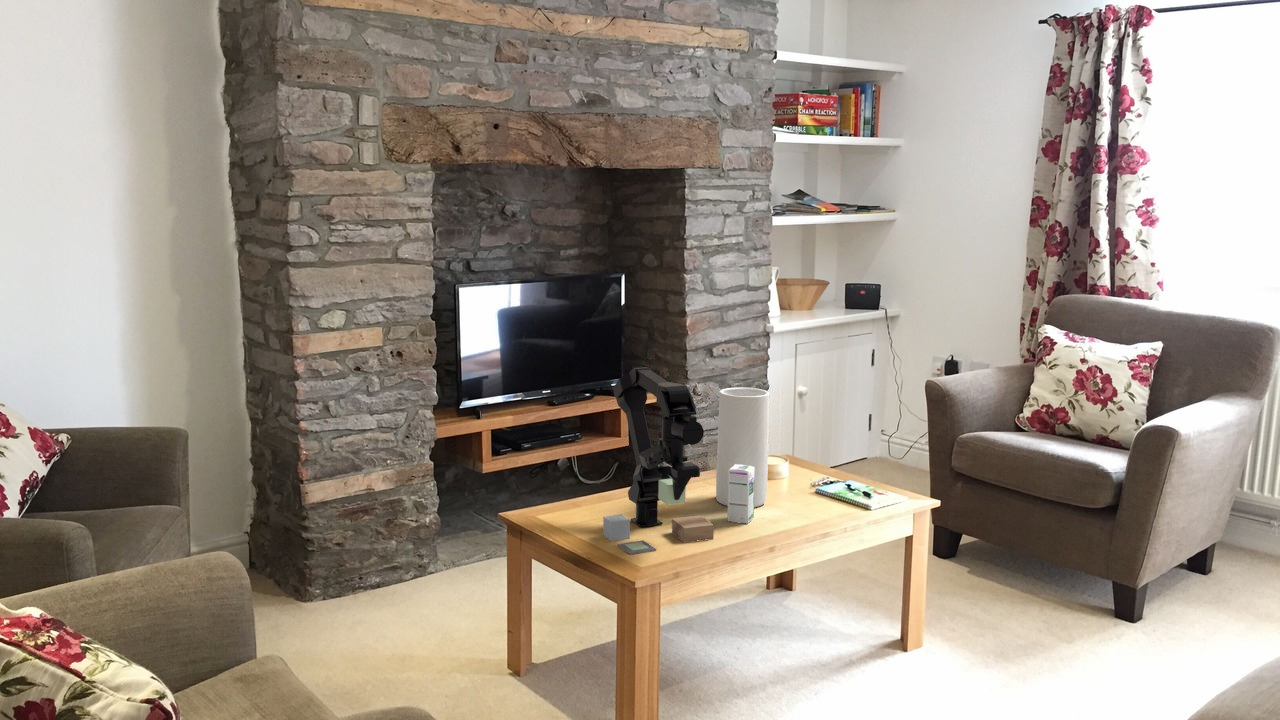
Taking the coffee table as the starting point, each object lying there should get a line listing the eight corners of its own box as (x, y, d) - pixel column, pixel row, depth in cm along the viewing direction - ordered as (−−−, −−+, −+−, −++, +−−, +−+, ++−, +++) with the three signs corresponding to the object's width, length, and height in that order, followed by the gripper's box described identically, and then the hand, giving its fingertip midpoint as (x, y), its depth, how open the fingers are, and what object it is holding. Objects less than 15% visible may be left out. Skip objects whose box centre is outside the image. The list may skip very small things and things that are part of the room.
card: (617, 545, 253) (617, 543, 253) (643, 541, 256) (643, 539, 256) (630, 554, 247) (630, 552, 247) (656, 550, 250) (656, 548, 250)
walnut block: (671, 533, 264) (672, 518, 263) (700, 530, 266) (700, 515, 266) (684, 543, 256) (684, 528, 256) (713, 540, 259) (713, 525, 258)
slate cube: (603, 535, 261) (603, 516, 260) (621, 533, 263) (621, 514, 262) (611, 541, 256) (611, 522, 255) (629, 539, 258) (629, 519, 258)
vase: (739, 491, 301) (742, 385, 296) (777, 502, 290) (781, 392, 285) (705, 500, 291) (707, 391, 286) (743, 512, 281) (746, 399, 276)
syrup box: (748, 524, 271) (749, 471, 269) (726, 521, 273) (728, 468, 271) (753, 518, 276) (755, 465, 274) (732, 515, 278) (734, 463, 276)
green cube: (658, 499, 258) (658, 479, 257) (676, 497, 260) (676, 477, 259) (667, 504, 254) (667, 485, 253) (685, 502, 256) (685, 483, 255)
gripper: (628, 430, 259) (627, 490, 262) (660, 447, 243) (658, 511, 245) (667, 426, 264) (666, 485, 266) (702, 443, 247) (700, 506, 250)
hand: (671, 496), depth 257 cm, fingers closed on green cube, 5 cm apart
